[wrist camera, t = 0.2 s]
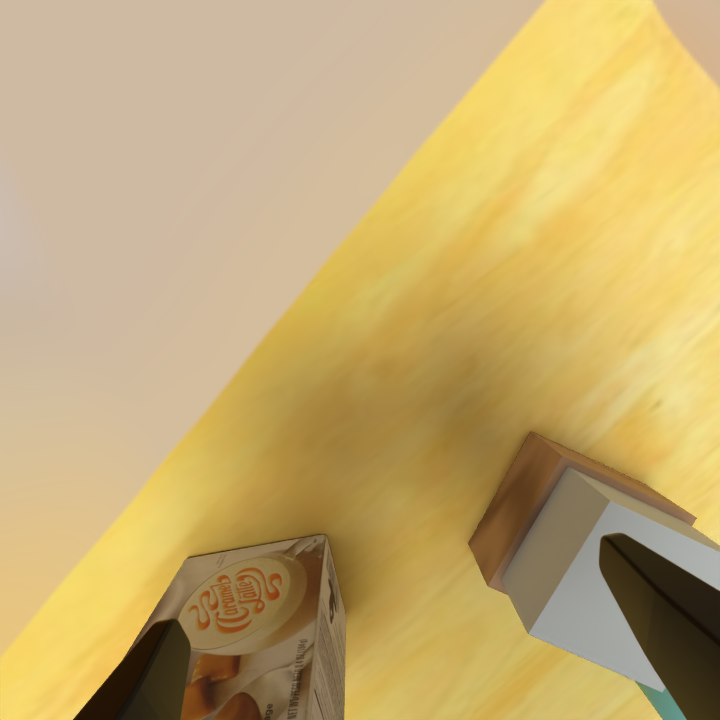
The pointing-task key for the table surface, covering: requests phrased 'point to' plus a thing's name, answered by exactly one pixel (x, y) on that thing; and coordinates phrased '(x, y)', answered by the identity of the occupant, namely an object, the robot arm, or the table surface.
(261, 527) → the table surface
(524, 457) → the tower base
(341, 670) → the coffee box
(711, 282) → the table surface
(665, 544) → the tower top
